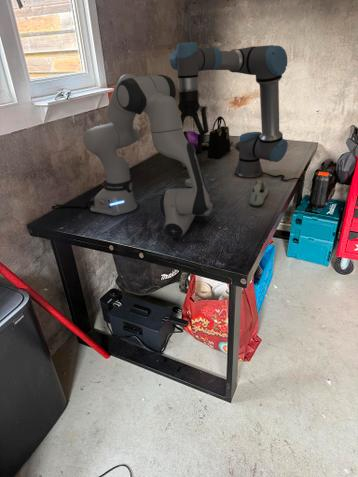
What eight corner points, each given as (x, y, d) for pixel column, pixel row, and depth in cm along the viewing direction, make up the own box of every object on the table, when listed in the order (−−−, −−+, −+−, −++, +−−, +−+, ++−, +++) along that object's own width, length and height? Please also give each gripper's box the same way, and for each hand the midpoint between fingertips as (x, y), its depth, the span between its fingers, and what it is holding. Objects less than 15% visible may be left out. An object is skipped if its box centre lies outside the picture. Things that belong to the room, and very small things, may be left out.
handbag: (218, 159, 217) (218, 119, 204) (206, 157, 221) (205, 119, 209) (231, 151, 232) (232, 114, 219) (219, 150, 236) (220, 113, 224)
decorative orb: (204, 151, 235) (204, 129, 228) (194, 156, 225) (193, 134, 217) (186, 149, 243) (186, 128, 235) (175, 154, 232) (174, 132, 224)
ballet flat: (269, 188, 169) (270, 173, 165) (265, 208, 149) (266, 191, 145) (252, 187, 171) (253, 172, 167) (246, 206, 151) (247, 190, 147)
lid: (187, 181, 145) (187, 178, 144) (199, 182, 144) (199, 178, 143) (183, 186, 141) (183, 182, 140) (196, 187, 139) (195, 183, 138)
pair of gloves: (198, 151, 236) (198, 144, 233) (184, 143, 256) (183, 137, 254) (234, 145, 246) (235, 137, 243) (218, 138, 266) (218, 131, 263)
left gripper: (209, 207, 131) (215, 194, 142) (160, 204, 137) (170, 191, 148) (209, 221, 134) (215, 207, 146) (162, 217, 140) (171, 204, 151)
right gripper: (217, 88, 123) (217, 149, 135) (167, 89, 130) (170, 147, 141) (211, 90, 117) (212, 154, 129) (159, 91, 124) (164, 152, 135)
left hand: (192, 199), depth 147 cm, fingers closed on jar, 4 cm apart
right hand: (190, 150), depth 135 cm, fingers open, 7 cm apart
